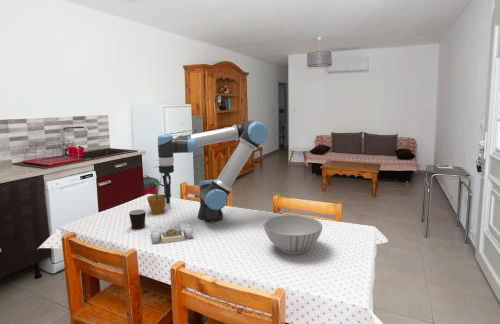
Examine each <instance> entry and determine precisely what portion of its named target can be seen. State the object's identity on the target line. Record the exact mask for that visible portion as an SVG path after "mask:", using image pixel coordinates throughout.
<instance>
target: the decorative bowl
mask: <svg viewBox="0 0 500 324" xmlns="http://www.w3.org/2000/svg"><path fill="white" fill-rule="evenodd" d="M263 229H264V231H265V234H266V236H267V237H268V240H269V241H270V242H271V243H272V244H273V245H274V246H275V247H277V249H279V251H280V252H282V253H284V254H287V255H300V254H303V253H305V252H306V250H308V249H310V248H311V247H312V246H313V245H314V244H315V243H316V242H317V241H318V239H319V237H320V236H321V233H322V231H323V223H321V222H320V220H317V219H316V218H314V217H309V216H306V215H300V214H299V215H298V214H297V215H296V214H285V215H284V214H282V215H277V216H273V217H269V218H268V219H266V220H264V222H263Z"/></svg>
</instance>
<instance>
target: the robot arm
mask: <svg viewBox="0 0 500 324" xmlns="http://www.w3.org/2000/svg"><path fill="white" fill-rule="evenodd" d="M268 138H269V129H268V127H267V125H266V124H264V122H261V121H259V120H257V121H256V120H247V121H244V122H240V123H235V124H233V125H232V126H229V127H225V128H224V127H223V128H217V129H213V130H207V131H202V132H201V131H200V132H195V133H190V134H187V135H177V136H176V138H174V137H173V135H171V134H159V135H158V136H157V154H158V158H157V159H156V161H158V166H159V168H158V173H160V174H161V173H162V174H163V175H162V183H163V185H164V186H163V190H164V193H163V195H165V196H164V198H165V209H164V210H171V209H172V206H171V205H172V204H171V203H172V202H171V197H172V193H171V184H172V183H171V181H172V180H171V179H172V176H171V175H170V174H172V173H174V170H175V169H174V168H175V167H174V164H175V163H174V161H175V160H174V158H175V157H174V154H181V153H182V154H185V153H189V154H191V153H195V152H197V148H198V147H202V146H208V145H209V146H210V145H213V144H214V145H215V144H217V143H218V144H219V143H224V142H228V141H234V140H235V141H237V142H238V141H239V143H238V144H237V146H236V148H235V149H234V151H233V153H232V155H231V156H230V158H229V159H228V161H227V162H226V164H225V165H224V167H223V169H222V170H221V172H220V173H219V175H218V177H217V178H216V179H206V180H205V179H204V180H201V181H199V186H198V187H199V209H198V212H197V219H198V220H200V221H204V223H216V222H220V221H222V220H223V219H224V212H223V208H225V206H227V204H228V199H229V198H228V197H229V196H230V194H231V192H232V190H231V189H232V188H231V187H232V185H233V183H234V182H235V181H236V178H237V177H238V175H239V174H240V172H241V171H242V169H243V168H244V166H245V164H246V163H247V161H248V160H249V158H250V156H252V153H253V151H256V150H258V149H259V147H260V145H261V144H263V143H265V142H266V141H267V140H268Z"/></svg>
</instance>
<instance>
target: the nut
mask: <svg viewBox="0 0 500 324" xmlns="http://www.w3.org/2000/svg"><path fill="white" fill-rule="evenodd" d="M176 231H177V230H176V229H173V228H172V229H168V230H166V235H167V236H174V235H176Z"/></svg>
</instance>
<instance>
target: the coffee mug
mask: <svg viewBox="0 0 500 324" xmlns="http://www.w3.org/2000/svg"><path fill="white" fill-rule="evenodd" d="M128 215H129V220H130V224H131V229H132V230H135V231H136V230H137V231H138V230H142V229H145V227H146V215H147V211H146V209H141V208H140V209H133V210H130V211H129V212H128Z"/></svg>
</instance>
